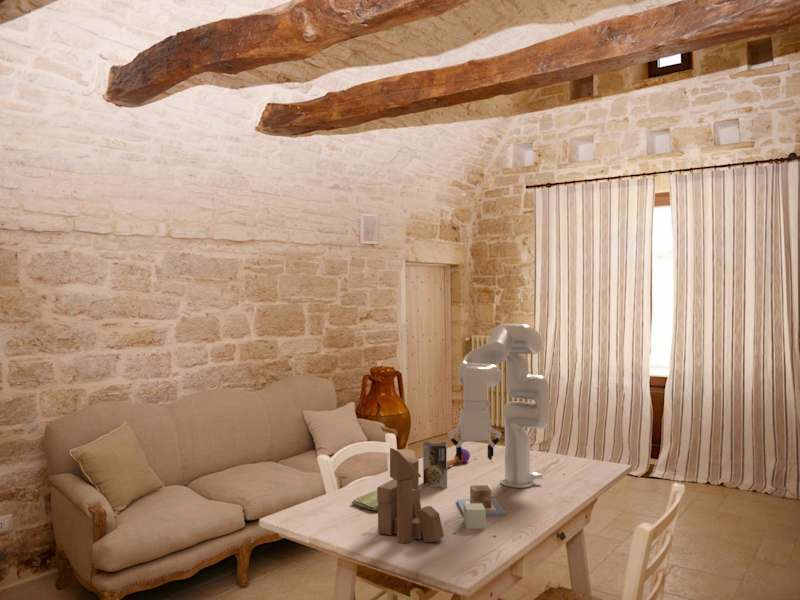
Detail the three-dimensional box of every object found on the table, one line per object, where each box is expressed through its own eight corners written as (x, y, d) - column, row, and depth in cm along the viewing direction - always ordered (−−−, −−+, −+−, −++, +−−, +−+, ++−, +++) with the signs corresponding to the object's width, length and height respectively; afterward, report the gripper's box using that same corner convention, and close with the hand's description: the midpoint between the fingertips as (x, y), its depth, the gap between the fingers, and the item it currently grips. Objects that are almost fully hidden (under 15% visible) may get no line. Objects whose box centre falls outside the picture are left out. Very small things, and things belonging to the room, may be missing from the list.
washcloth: (349, 506, 221) (349, 497, 221) (383, 494, 235) (384, 485, 235) (376, 515, 213) (376, 505, 213) (411, 502, 226) (411, 493, 226)
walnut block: (487, 502, 221) (487, 485, 221) (491, 508, 215) (491, 490, 215) (470, 502, 221) (470, 485, 221) (473, 508, 215) (473, 491, 215)
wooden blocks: (427, 553, 181) (427, 455, 180) (368, 539, 191) (368, 446, 190) (462, 526, 202) (462, 438, 202) (407, 515, 212) (407, 431, 211)
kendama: (434, 460, 266) (459, 447, 282) (437, 474, 265) (462, 460, 281) (446, 460, 262) (470, 446, 278) (449, 474, 262) (473, 460, 278)
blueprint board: (495, 501, 226) (495, 498, 226) (505, 515, 212) (505, 512, 212) (456, 502, 225) (456, 499, 225) (463, 516, 211) (463, 513, 211)
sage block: (481, 521, 206) (481, 503, 206) (485, 528, 200) (485, 509, 200) (463, 522, 206) (463, 503, 205) (466, 529, 200) (466, 510, 199)
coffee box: (447, 483, 247) (447, 441, 247) (446, 488, 240) (447, 445, 240) (423, 482, 248) (423, 441, 248) (422, 487, 241) (422, 445, 241)
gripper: (499, 403, 207) (498, 455, 207) (446, 403, 206) (446, 456, 206) (504, 407, 200) (504, 461, 200) (449, 407, 199) (449, 462, 199)
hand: (474, 458), depth 203 cm, fingers open, 9 cm apart
